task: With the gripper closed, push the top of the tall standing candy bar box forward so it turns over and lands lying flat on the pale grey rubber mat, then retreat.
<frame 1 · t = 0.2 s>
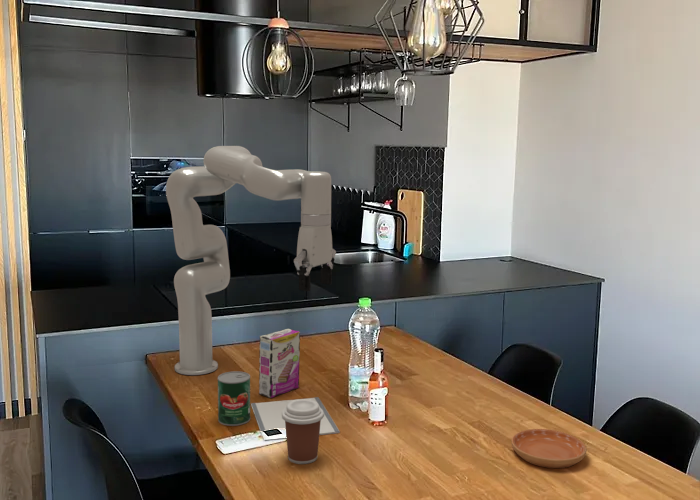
hand: (315, 287, 176), 31 cm above the table, tool pointing down, fingers open, 9 cm apart
coffee cup: (302, 458, 149), on the table
candy bar box: (279, 391, 188), on the table
saucer: (547, 456, 152), on the table
mat: (293, 418, 170), on the table
canned tomato: (234, 420, 169), on the table
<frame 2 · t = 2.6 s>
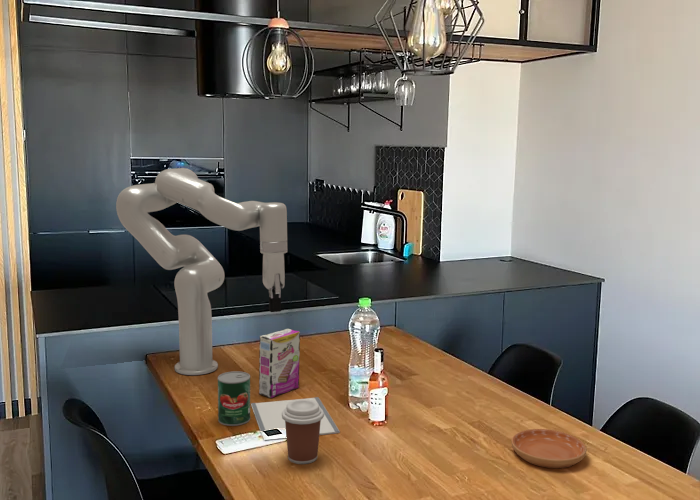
hand: (275, 311, 194), 20 cm above the table, tool pointing down, fingers closed
nothing on the table moved.
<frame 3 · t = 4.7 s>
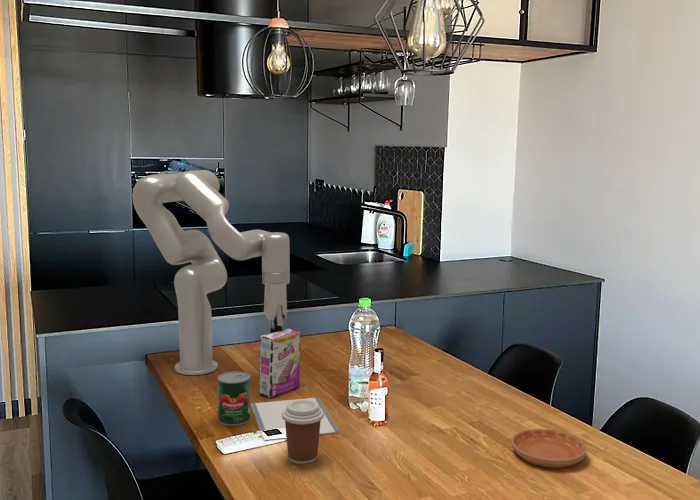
hand: (276, 341, 192), 12 cm above the table, tool pointing down, fingers closed
candy bar box: (279, 391, 188), on the table, touching gripper
everything else where it was.
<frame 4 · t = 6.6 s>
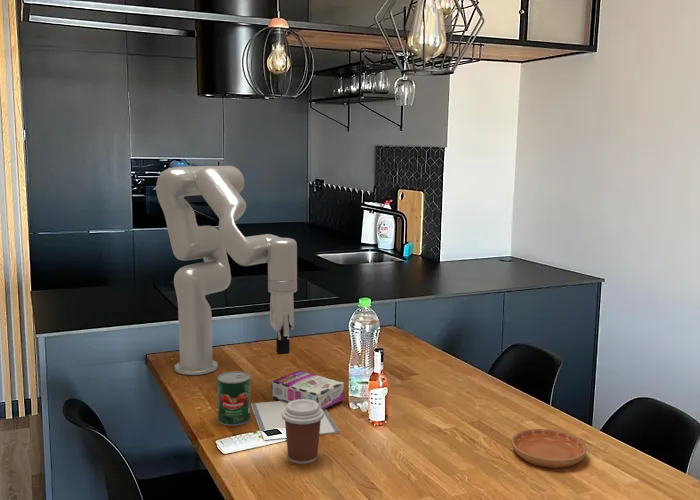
hand: (282, 353, 182), 12 cm above the table, tool pointing down, fingers closed
candy bar box: (285, 383, 186), point 3 cm above the table, touching mat
everything else where it was.
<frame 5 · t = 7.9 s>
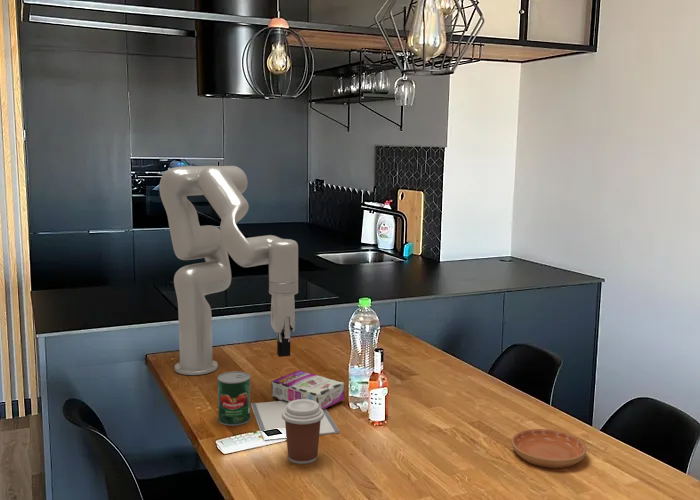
hand: (283, 355, 180), 12 cm above the table, tool pointing down, fingers closed
nothing on the table moved.
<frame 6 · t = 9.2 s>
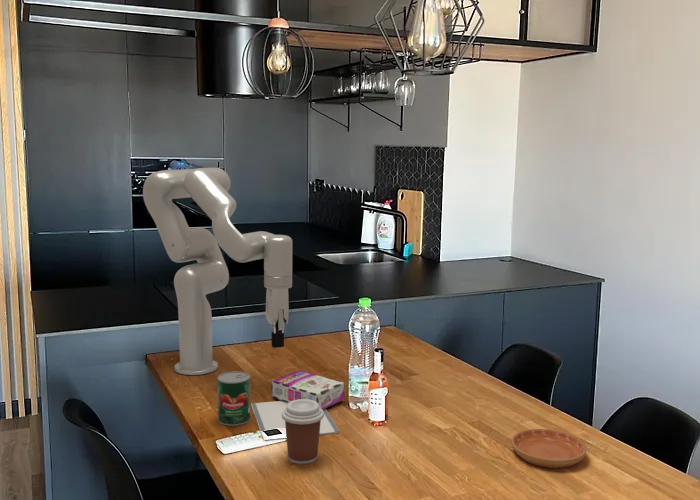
hand: (277, 346, 188), 12 cm above the table, tool pointing down, fingers closed
nothing on the table moved.
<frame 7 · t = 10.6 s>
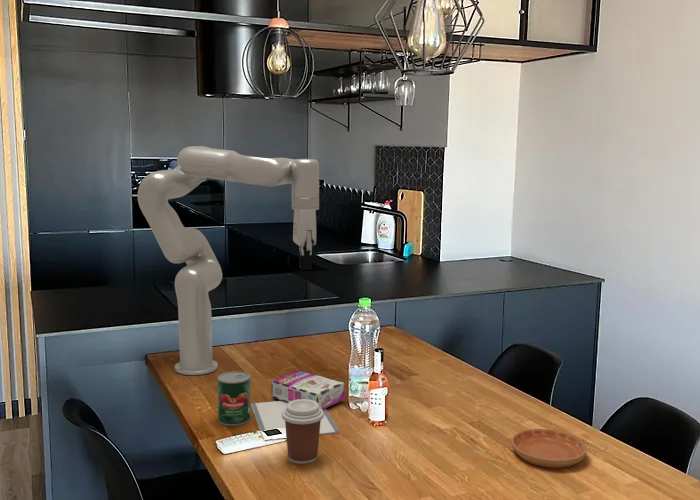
hand: (305, 269, 192), 32 cm above the table, tool pointing down, fingers closed
nothing on the table moved.
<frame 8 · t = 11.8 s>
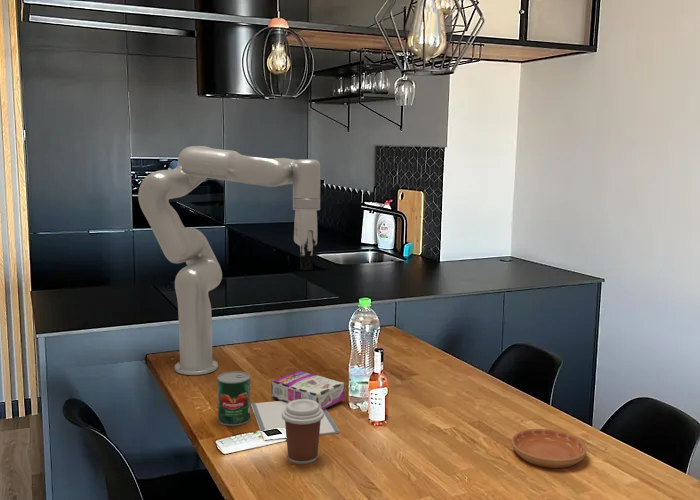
hand: (306, 269, 193), 32 cm above the table, tool pointing down, fingers closed
nothing on the table moved.
at the end: candy bar box tilted 88°; candy bar box inside the target area on the mat (7.9 cm from its centre), point 2.7 cm above the mat's base; the gripper is holding nothing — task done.
